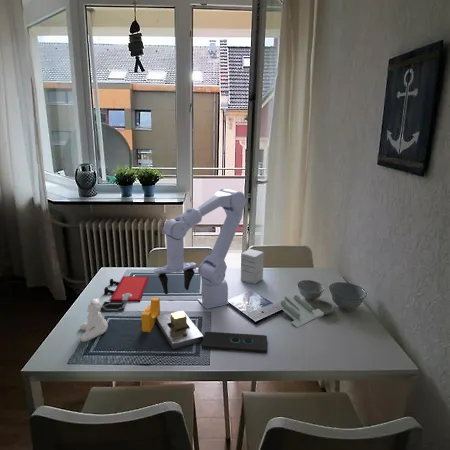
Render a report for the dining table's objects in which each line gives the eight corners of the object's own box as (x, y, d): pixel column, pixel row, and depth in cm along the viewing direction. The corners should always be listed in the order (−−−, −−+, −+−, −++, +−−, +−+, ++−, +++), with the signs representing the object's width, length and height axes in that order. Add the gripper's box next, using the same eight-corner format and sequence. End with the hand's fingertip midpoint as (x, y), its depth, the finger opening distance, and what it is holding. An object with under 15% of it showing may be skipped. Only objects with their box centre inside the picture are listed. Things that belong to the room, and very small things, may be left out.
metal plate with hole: (183, 315, 133) (183, 309, 132) (203, 340, 118) (203, 335, 117) (155, 321, 129) (155, 316, 128) (173, 349, 113) (173, 343, 113)
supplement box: (249, 274, 168) (249, 248, 165) (263, 278, 164) (264, 251, 161) (240, 280, 163) (240, 253, 159) (254, 284, 158) (255, 256, 155)
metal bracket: (271, 300, 133) (298, 288, 142) (267, 312, 136) (294, 300, 145) (301, 326, 124) (328, 312, 133) (296, 338, 127) (323, 324, 136)
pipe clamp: (148, 313, 134) (147, 297, 132) (160, 314, 134) (159, 297, 132) (137, 331, 123) (136, 313, 121) (149, 332, 122) (148, 314, 120)
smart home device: (267, 350, 111) (201, 345, 113) (267, 355, 112) (201, 350, 114) (267, 334, 119) (205, 330, 121) (266, 339, 120) (205, 335, 122)
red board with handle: (94, 312, 134) (136, 312, 135) (94, 305, 134) (136, 305, 135) (114, 279, 163) (149, 279, 164) (114, 273, 163) (148, 273, 163)
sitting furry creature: (79, 327, 124) (76, 295, 121) (106, 322, 127) (103, 290, 124) (81, 343, 116) (77, 308, 113) (110, 337, 119) (107, 303, 116)
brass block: (182, 326, 126) (182, 310, 124) (186, 332, 122) (186, 316, 120) (171, 329, 124) (170, 313, 122) (175, 335, 120) (174, 319, 119)
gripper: (158, 261, 120) (159, 299, 124) (199, 255, 126) (199, 291, 130) (151, 254, 126) (153, 291, 130) (191, 248, 133) (192, 283, 136)
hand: (176, 290), depth 130 cm, fingers open, 7 cm apart
